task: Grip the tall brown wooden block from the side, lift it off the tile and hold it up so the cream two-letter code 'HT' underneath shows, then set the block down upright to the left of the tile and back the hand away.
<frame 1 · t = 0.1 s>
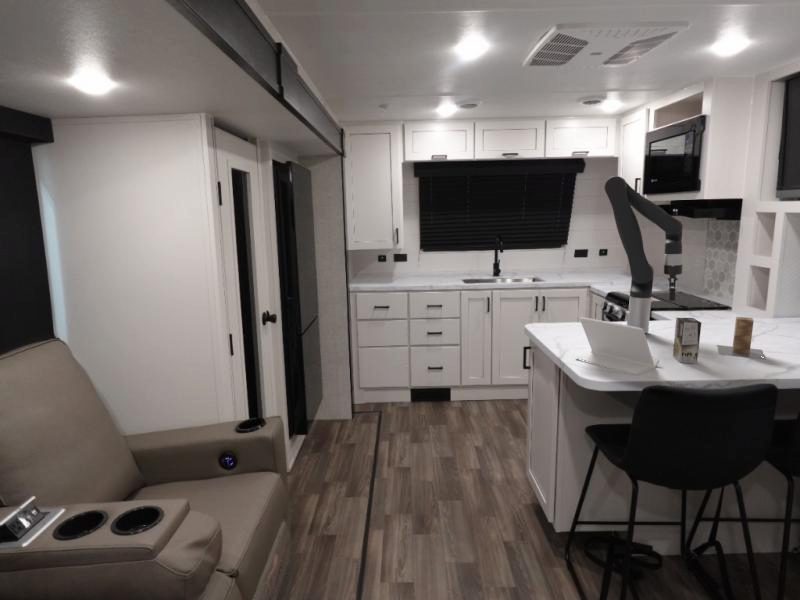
hand: (672, 299, 235), 17 cm above the table, tool pointing down, fingers open, 8 cm apart
code tile: (740, 352, 210), on the table
coffee box: (684, 360, 201), on the table
white laptop: (615, 363, 198), on the table
brown wooden block: (740, 351, 210), resting on code tile
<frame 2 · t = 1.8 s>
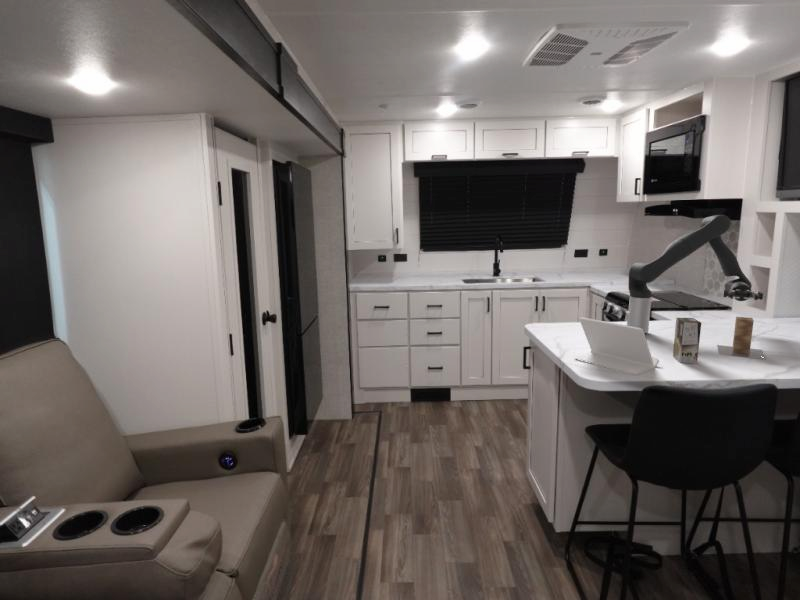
hand: (744, 297, 217), 21 cm above the table, tool horizontal, fingers open, 8 cm apart
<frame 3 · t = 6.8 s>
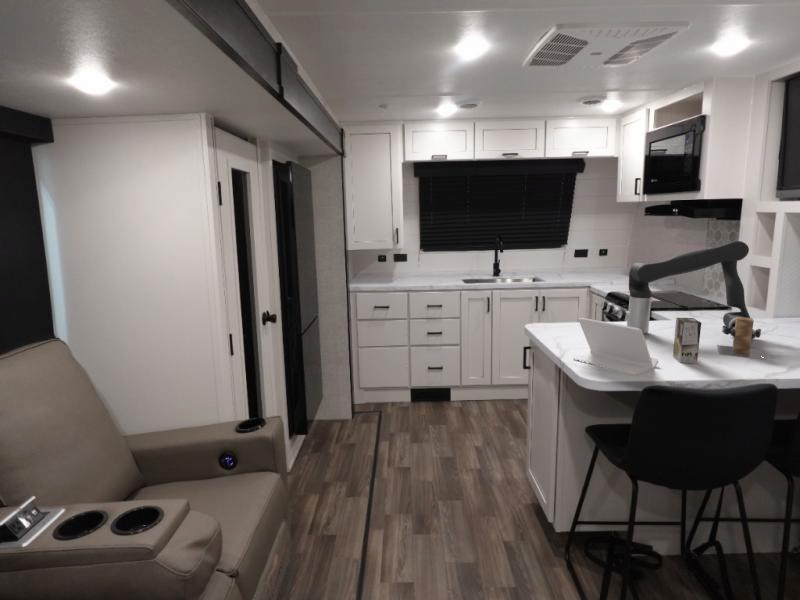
hand: (743, 335, 207), 8 cm above the table, tool horizontal, fingers closed on brown wooden block, 5 cm apart
brown wooden block: (740, 351, 210), resting on code tile, touching gripper
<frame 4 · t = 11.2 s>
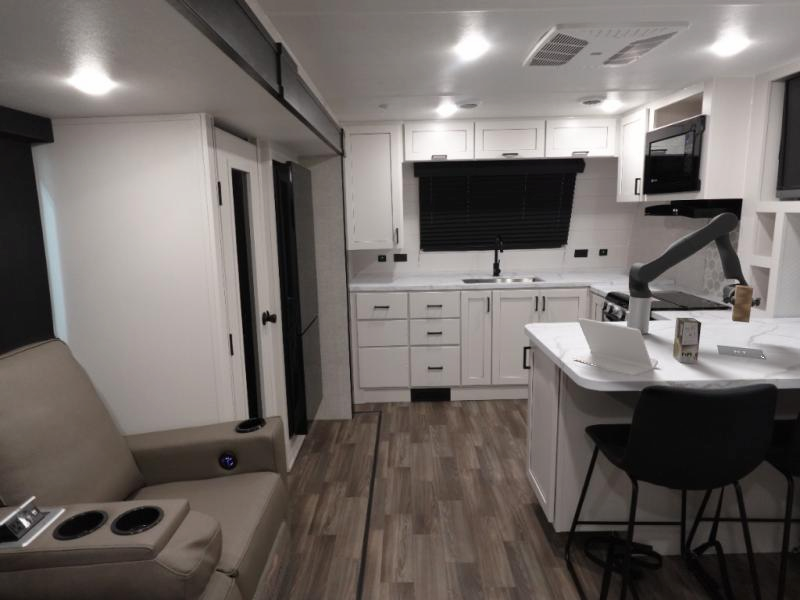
hand: (743, 303, 205), 21 cm above the table, tool horizontal, fingers closed on brown wooden block, 5 cm apart
brown wooden block: (740, 320, 208), point 13 cm above the table, touching gripper
when the fingers open (9 cm above the table, at t = 15.8 s): brown wooden block drops 1 cm, on the table.
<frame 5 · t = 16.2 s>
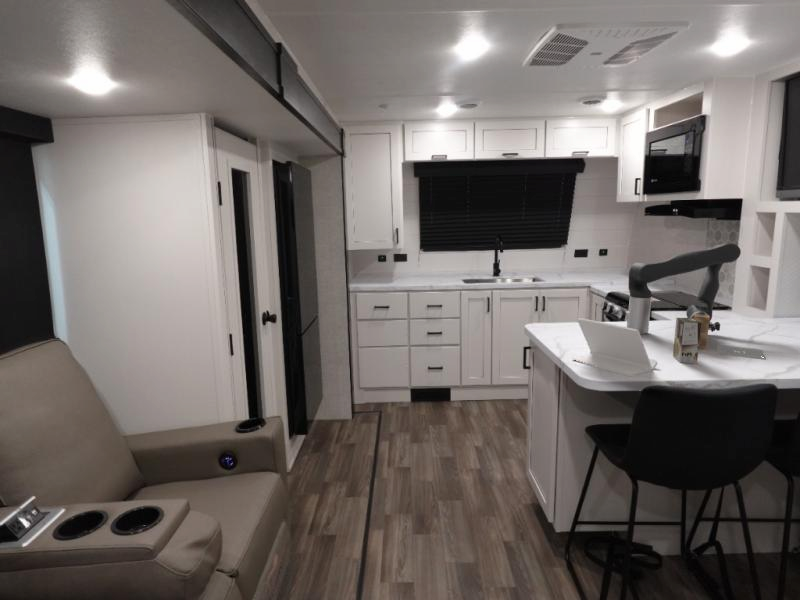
hand: (700, 328, 214), 9 cm above the table, tool horizontal, fingers open, 8 cm apart
brown wooden block: (698, 348, 217), on the table
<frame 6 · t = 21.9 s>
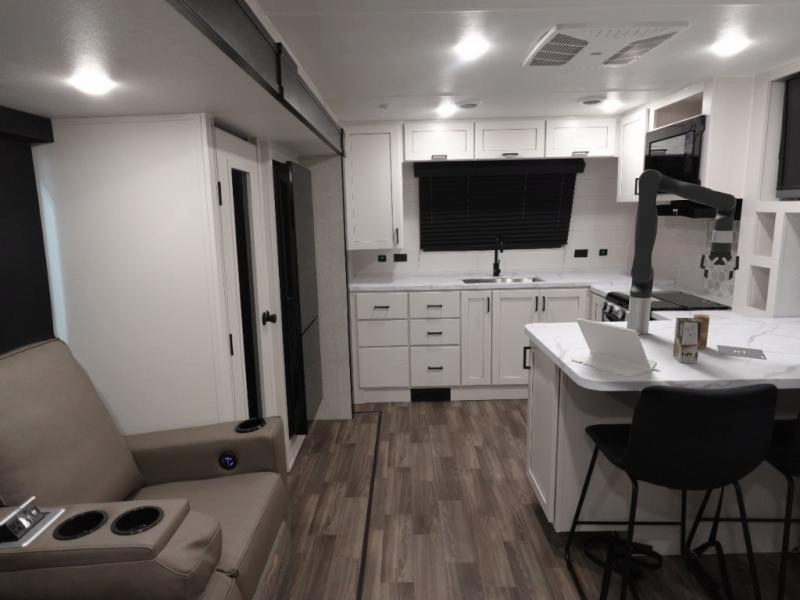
hand: (717, 279, 222), 28 cm above the table, tool pointing down, fingers open, 8 cm apart
at the end: brown wooden block inside the target area (0.1 cm from its centre), on the table; brown wooden block tilted 0°; the gripper is holding nothing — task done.
